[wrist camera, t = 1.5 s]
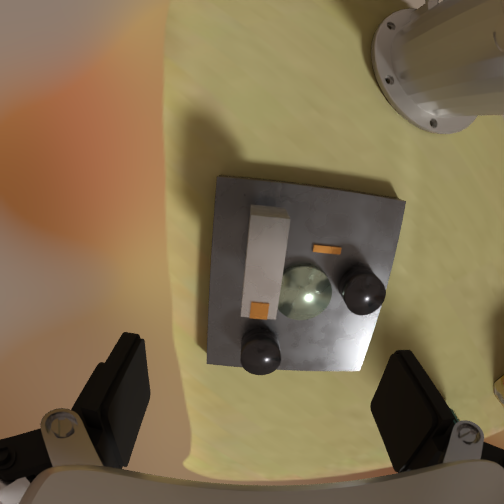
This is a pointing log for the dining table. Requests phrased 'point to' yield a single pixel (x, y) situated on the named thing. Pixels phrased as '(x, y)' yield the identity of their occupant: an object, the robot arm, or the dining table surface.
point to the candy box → (499, 390)
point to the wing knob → (264, 261)
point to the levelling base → (302, 276)
